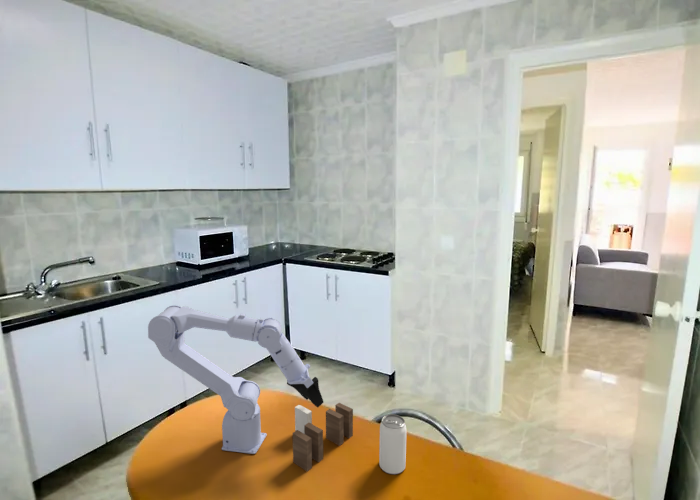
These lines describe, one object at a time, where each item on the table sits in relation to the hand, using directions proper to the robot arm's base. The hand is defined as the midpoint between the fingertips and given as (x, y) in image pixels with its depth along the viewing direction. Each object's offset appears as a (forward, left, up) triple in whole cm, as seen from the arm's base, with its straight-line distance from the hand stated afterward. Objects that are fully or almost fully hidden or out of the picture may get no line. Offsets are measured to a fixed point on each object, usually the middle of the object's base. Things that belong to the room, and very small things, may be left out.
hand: (314, 400), depth 99 cm
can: (+21, -7, -12) cm, 25 cm away
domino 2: (-1, -10, -11) cm, 15 cm away
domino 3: (+1, -7, -11) cm, 13 cm away
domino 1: (-4, +1, -11) cm, 12 cm away
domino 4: (+5, 0, -11) cm, 13 cm away
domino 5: (+7, +4, -11) cm, 14 cm away
